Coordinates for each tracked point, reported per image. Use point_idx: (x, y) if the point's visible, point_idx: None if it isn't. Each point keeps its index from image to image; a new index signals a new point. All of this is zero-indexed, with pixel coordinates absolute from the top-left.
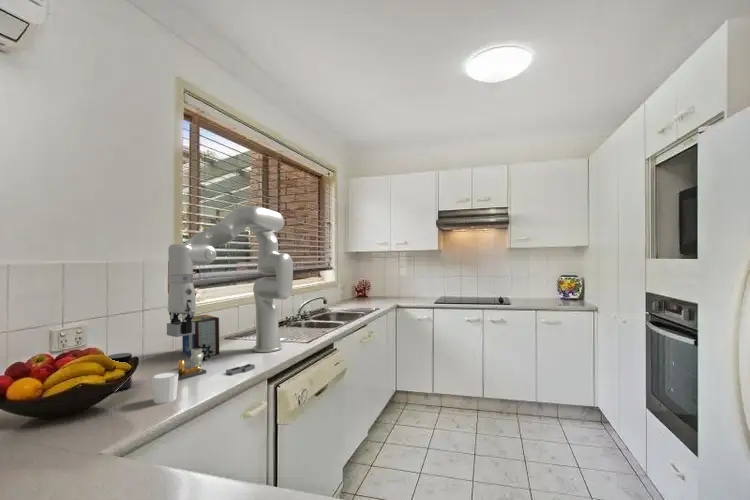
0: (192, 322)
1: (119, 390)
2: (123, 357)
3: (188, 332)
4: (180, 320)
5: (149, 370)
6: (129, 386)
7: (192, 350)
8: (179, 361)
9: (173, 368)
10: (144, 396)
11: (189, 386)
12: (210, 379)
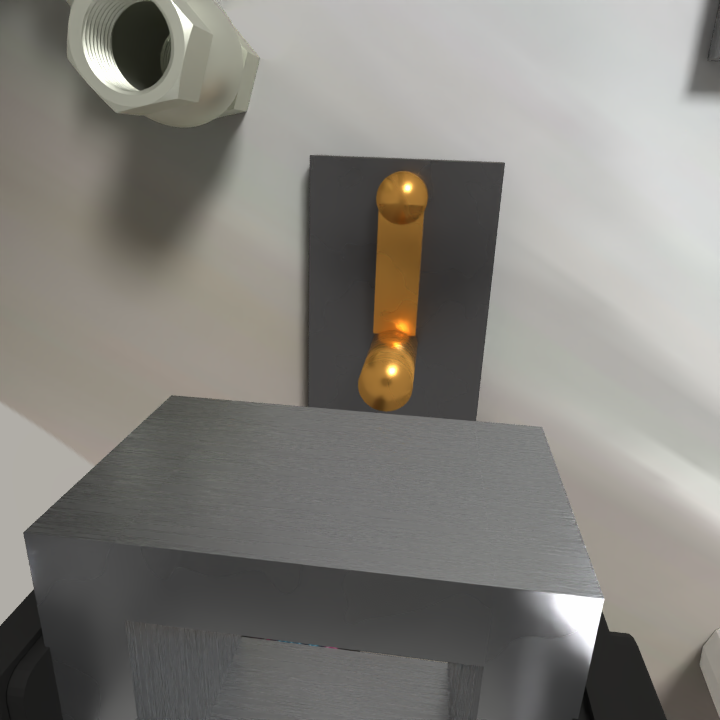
0: (580, 663)
1: None
2: None
3: None
4: (20, 659)
5: (5, 351)
6: None
7: (138, 108)
8: (396, 409)
9: (92, 221)
10: None
11: (686, 451)
12: (706, 264)
